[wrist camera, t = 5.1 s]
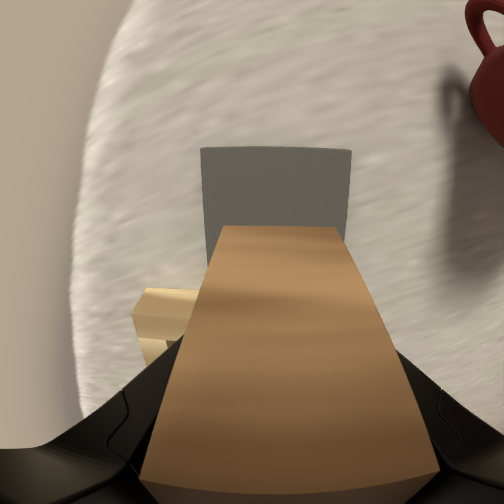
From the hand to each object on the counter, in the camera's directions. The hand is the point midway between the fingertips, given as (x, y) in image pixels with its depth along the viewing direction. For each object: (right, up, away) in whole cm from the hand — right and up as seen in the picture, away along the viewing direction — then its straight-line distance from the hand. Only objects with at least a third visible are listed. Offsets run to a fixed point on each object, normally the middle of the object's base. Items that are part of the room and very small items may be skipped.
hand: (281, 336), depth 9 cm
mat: (+1, +4, +9) cm, 10 cm away
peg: (0, +2, +3) cm, 4 cm away
